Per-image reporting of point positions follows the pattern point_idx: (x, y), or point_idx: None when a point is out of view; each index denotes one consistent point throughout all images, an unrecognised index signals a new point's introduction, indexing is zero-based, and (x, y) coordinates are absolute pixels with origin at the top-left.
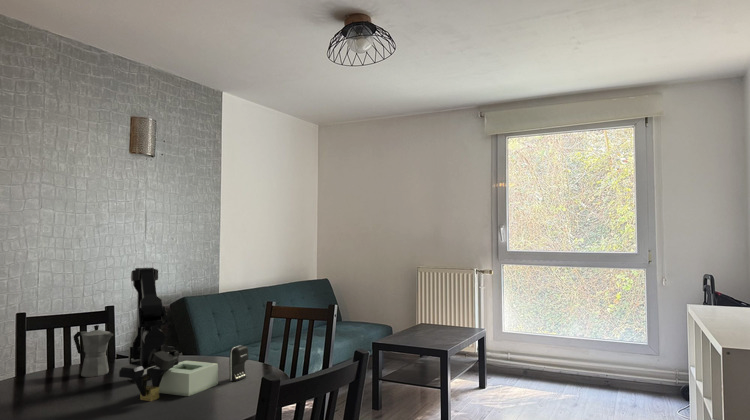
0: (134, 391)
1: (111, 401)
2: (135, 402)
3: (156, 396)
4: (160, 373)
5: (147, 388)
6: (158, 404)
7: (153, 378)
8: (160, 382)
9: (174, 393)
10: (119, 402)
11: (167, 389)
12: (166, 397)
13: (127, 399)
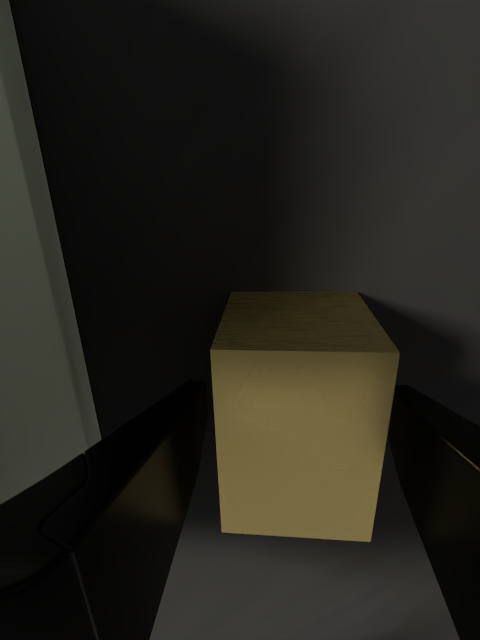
0: (175, 603)
1: None
2: None
3: (275, 300)
4: (12, 624)
5: (343, 461)
6: (464, 75)
7: (144, 600)
8: None
9: (47, 216)
10: None
11: (50, 341)
12: (177, 225)
13: None
